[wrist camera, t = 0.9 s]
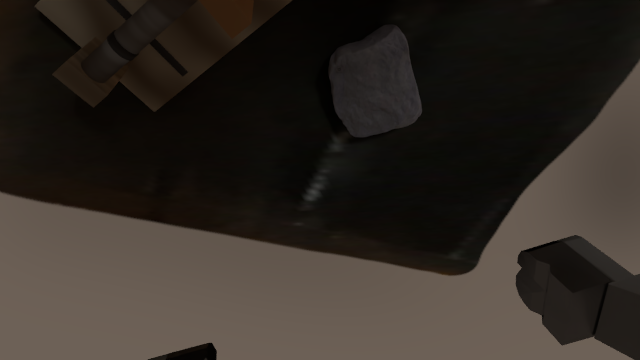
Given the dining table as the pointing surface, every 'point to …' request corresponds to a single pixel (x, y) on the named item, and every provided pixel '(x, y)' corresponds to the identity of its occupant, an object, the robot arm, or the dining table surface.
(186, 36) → the pipe stand
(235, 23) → the collar
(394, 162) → the dining table surface
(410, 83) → the stone block
